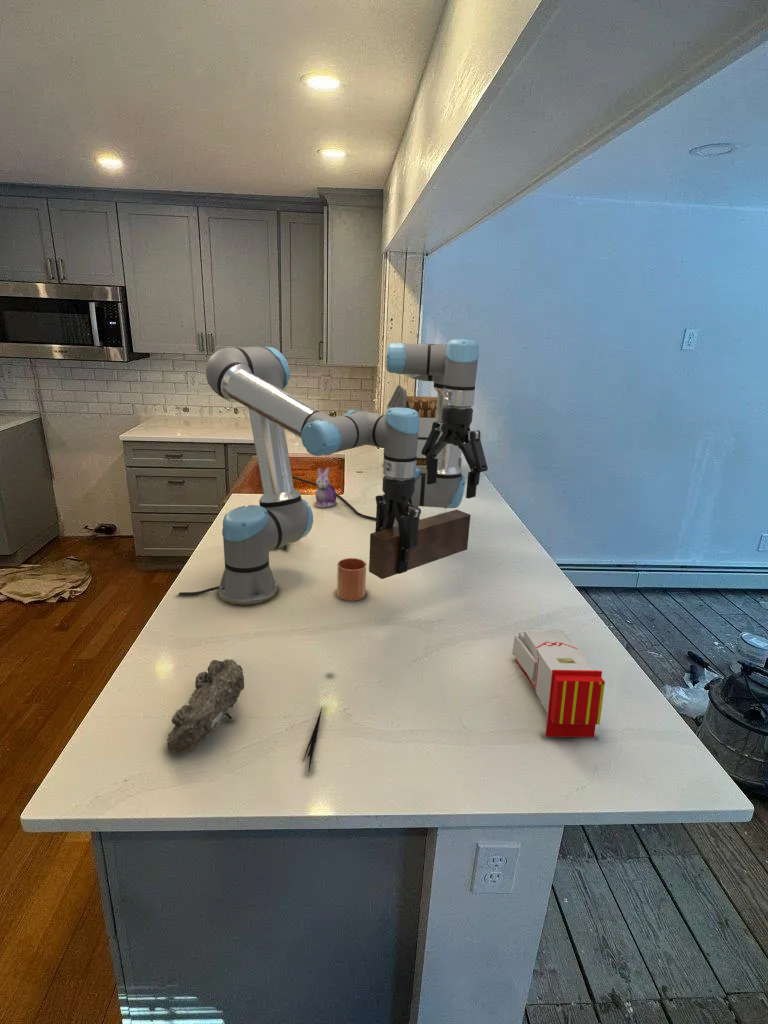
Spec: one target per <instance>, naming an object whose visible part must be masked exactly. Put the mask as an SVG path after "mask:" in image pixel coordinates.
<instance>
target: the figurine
mask: <svg viewBox="0 0 768 1024" xmlns="http://www.w3.org/2000/svg"><path fill="white" fill-rule="evenodd" d="M329 474H330V467H329V466H327V467H326V468H325V469H324V471H323V470H322V468H321V467H318V468H317V477H316V481H315V483H316V486H315V487H316V488H317V489H316V490H315V499H316V501H315V506H316V507H317V508H322V509H324V508H330V507H333V506H335V505H336V502H337V496H336V493H337V492H336V489H335V488H334V486H333V485H331V481H330V479H329Z"/></svg>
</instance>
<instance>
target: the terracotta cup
mask: <svg viewBox="0 0 768 1024" xmlns="http://www.w3.org/2000/svg"><path fill="white" fill-rule="evenodd" d="M367 566H368V565H367V563H366V561H364V560H363V559H360V558H356V557H355V558H354V557H349V558H344V559H343V558H342V559H340V560H339V561H338V562H337V564H336V567H337V568H336V595H337V597H338V598H340V599H342V600H345V601H358V600H362V599H363V598H365V596H366V592H367V591H366V589H367V588H366V587H367Z"/></svg>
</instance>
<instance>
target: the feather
mask: <svg viewBox="0 0 768 1024" xmlns="http://www.w3.org/2000/svg"><path fill="white" fill-rule="evenodd" d="M329 675H330V676H331V675H332V674H331V673H330V674H329ZM322 710H323V707H321V708H320V710H319V713H318V716H317V719H316V723H315V725H314V728H313V731H312V733H311V737H310V739H309V742H308V745H307V748H306V751H305V754H304V757H303V760H302V763H301V767H302V765H303V763H304V761H305V758H308V759H309V760H308V762H307V763H308V764H307V766H308V771H310V770H311V766H312V765H311V764H312V760H313V757H315V756H314V755H315V751H316V749H315V746H317V739H318V733H319V729H320V722H321V717H322V712H323V711H322ZM313 754H314V755H313ZM306 755H307V757H306Z"/></svg>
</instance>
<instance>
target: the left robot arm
mask: <svg viewBox="0 0 768 1024" xmlns="http://www.w3.org/2000/svg"><path fill="white" fill-rule="evenodd" d="M205 377H206V381H207V384H208V385H209V387H210V388H211V390H212V391H213V392H214V393H215V394H216V395H217V396H219V397H221V398H222V399H223V400H225V401H227V402H229V403H239V404H241V405H243V406H244V407H246V408H247V410H248V415H249V421H250V425H251V431H252V438H253V441H254V442H253V443H254V448H255V453H256V459H257V465H258V471H259V477H260V482H261V488H262V495H261V497H260V498H259V499H258V503H259V505H256V504H250V505H243V506H238V507H236V508H233V509H231V510H229V511H228V512H227V513H226V514H225V515H224V516H223V519H222V530H221V534H222V541H223V542H222V543H223V557H224V558H223V559H224V570H223V573H222V577H221V579H220V584H219V585H217V586H214V587H209V588H206V589H203V590H199V591H188V592H187V591H183V592H181V591H180V592H178V595H179V596H197V595H201V594H202V595H203V594H206V593H209V592H213V591H217V590H218V594H219V595H218V596H219V598H220V599H221V600H222V601H223V602H225V603H227V604H230V605H234V606H255V605H259V604H263V603H265V602H268V601H270V600H271V599H273V598H274V597H275V596H276V595H277V591H278V588H277V587H278V586H277V585H278V579H276V578H275V576H274V573H273V571H272V568H271V566H270V552H272V551H275V550H277V549H279V548H282V547H284V545H287V544H288V545H289V543H290V544H292V543H296V542H298V541H300V540H301V539H304V538H305V537H307V536H308V535H309V533H310V532H311V530H312V528H313V523H314V514H313V510H312V507H311V506H310V505H308V504H309V503H308V502H307V500H305V499H304V498H302V494H301V493H300V492H299V491H298V490H296V489H295V485H294V479H293V478H292V476H293V472H292V467H291V461H290V455H289V448H288V443H287V437H286V431H287V432H289V433H291V434H292V435H294V436H296V437H298V438H300V439H301V443H302V446H303V448H305V450H306V452H307V453H308V454H310V455H312V456H314V457H321V456H330V455H333V454H336V453H340V452H343V451H347V450H351V449H355V448H360V447H363V446H371V447H376V448H381V449H383V463H384V464H383V467H382V468H383V472H382V473H383V475H384V476H383V477H382V487H381V488H382V489H381V490H382V492H383V494H379V495H375V504H376V509H375V510H376V513H375V518H376V520H375V530H374V532H378V531H381V530H385V529H388V528H392V527H393V525H394V521H395V517H396V521H398V527H399V535H400V544H401V547H399V548H398V562H397V573H398V574H397V575H401V574H403V573H406V572H408V570H407V566H408V561H409V559H410V549H412V548H415V547H417V542H418V525H419V518H420V517H421V513H422V509H421V508H420V507H419V508H417V509H416V508H415V507H414V506H413V503H412V495H413V494H414V492H415V478H414V477H415V476H416V467H417V466H416V461H417V459H416V458H417V443H418V433H419V414H418V412H417V411H416V410H414V409H410V408H399V407H397V408H389V409H388V410H387V409H386V411H385V414H381V413H375V412H370V411H367V410H364V409H350V410H349V409H348V410H347V411H346V412H345V413H344V414H343V415H340V416H339V415H338V416H331V415H329V414H327V413H325V412H323V411H322V410H320V409H318V408H316V407H314V406H312V405H310V404H308V403H307V402H305V401H303V400H301V399H300V398H297V397H296V396H294V395H292V394H291V393H288V392H286V391H285V388H287V386H288V384H289V380H290V378H291V370H290V366H289V363H288V360H287V359H286V357H285V356H284V355H283V353H282V352H280V350H279V349H277V348H274V347H272V346H262V345H257V346H240V347H232V346H231V347H223V348H221V349H218V350H216V351H215V352H214V353H213V354H212V355H211V356H210V357H209V358H208V361H207V363H206V367H205ZM285 430H286V431H285ZM404 515H405V516H404ZM401 516H402V517H401ZM380 528H381V529H380ZM288 545H287V546H288Z"/></svg>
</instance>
